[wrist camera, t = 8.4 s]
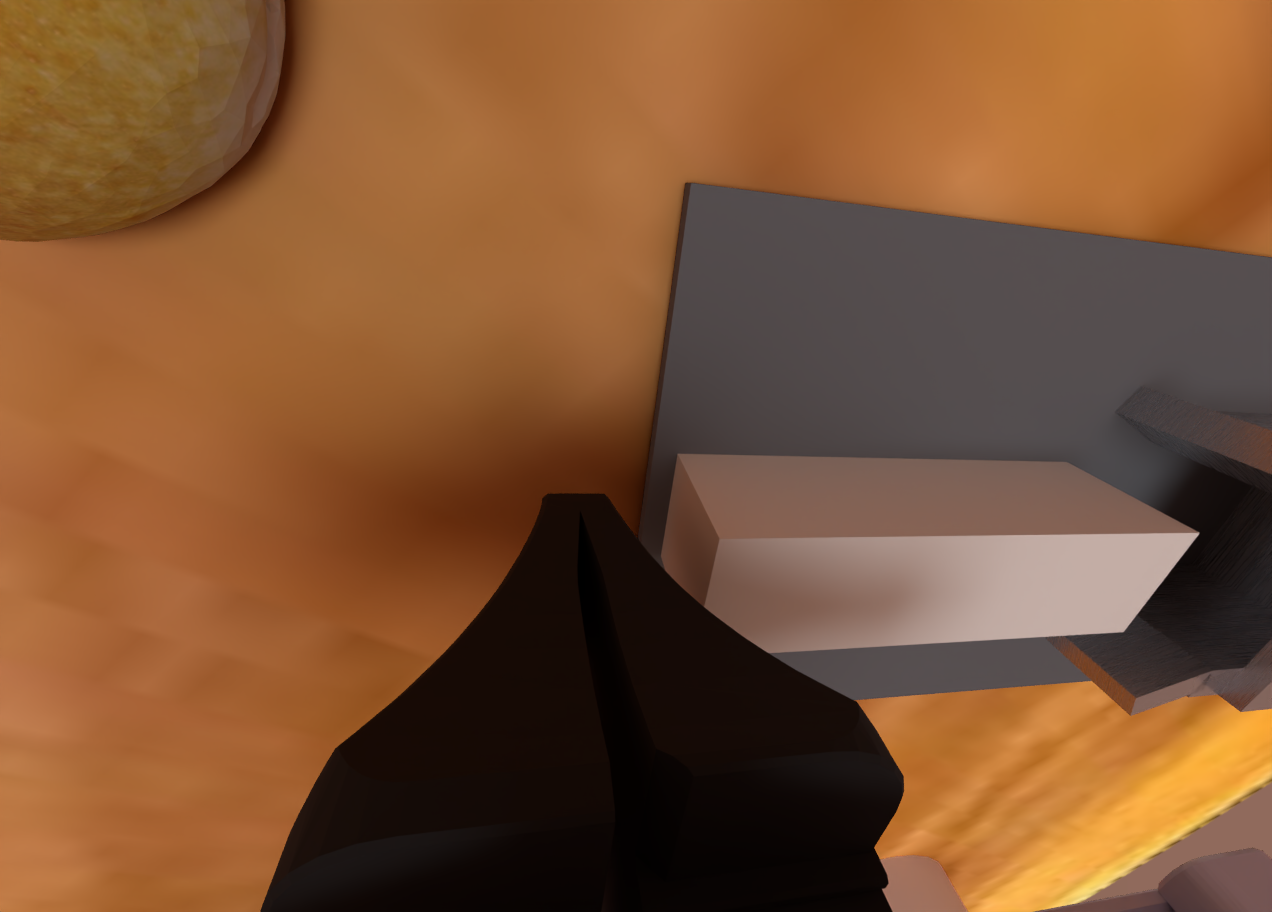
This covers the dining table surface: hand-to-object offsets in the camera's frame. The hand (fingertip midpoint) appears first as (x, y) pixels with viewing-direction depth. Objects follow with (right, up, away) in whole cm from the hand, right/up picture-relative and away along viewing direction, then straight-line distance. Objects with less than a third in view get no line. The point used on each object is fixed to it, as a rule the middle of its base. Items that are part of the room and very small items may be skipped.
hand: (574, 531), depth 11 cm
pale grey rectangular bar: (+8, 0, +2) cm, 8 cm away
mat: (+12, 0, +4) cm, 12 cm away
